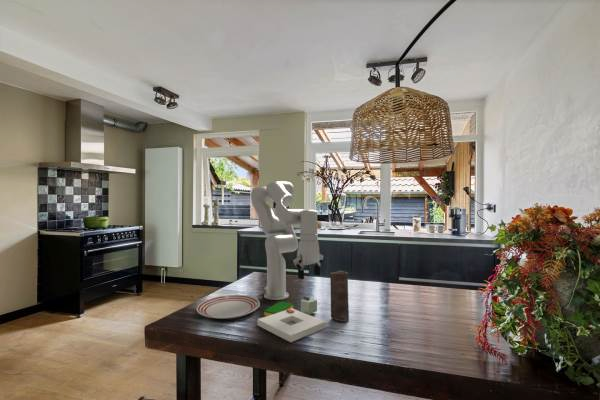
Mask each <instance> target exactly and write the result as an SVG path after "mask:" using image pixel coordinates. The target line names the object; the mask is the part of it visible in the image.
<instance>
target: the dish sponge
mask: <svg viewBox="0 0 600 400" xmlns="http://www.w3.org/2000/svg"><path fill="white" fill-rule="evenodd" d="M291 308H292V309H294V303H291V302H286V301H279V302H277V303H274V304H273V305H272V306H269V307H268V308H267V309H264V312H263V316H264V317H266V316H269V315H272V314H276V313H279V312H282V311H285V310H288V309H291Z"/></svg>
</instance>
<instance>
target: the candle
mask: <svg viewBox="0 0 600 400" xmlns="http://www.w3.org/2000/svg"><path fill="white" fill-rule="evenodd" d="M348 275H349V273H348V272H347V271H344V270H337V271H333V272H330V276H329V277H330V279H329V280H330V318H331V319H332V320H335V321H337V322H342V323H343V322H344V323H345V322H349V320H350V315H349V313H350V311H349V310H350V309H349V308H350V307H349V282H348V281H349V279H348V278H349V276H348Z"/></svg>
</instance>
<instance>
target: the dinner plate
mask: <svg viewBox="0 0 600 400" xmlns="http://www.w3.org/2000/svg"><path fill="white" fill-rule="evenodd" d="M260 305H261V302H260V300H259V299H257V298H256V297H254V296H251V295H250V296H249V295H244V294H228V295H227V294H226V295H220V296H215V297H211V298H208V299H206V300H204V301H202V302H201V303H199V304H198V305H197V307H196V312H197V313H198V314H199V315H201V316H204V317H205V318H209V319H217V320H218V319H219V320H231V319H236V318H240V317H243V316H247V315H249V314H251V313H253V312H254V311H256V310H257V309H258V308H259V307H260Z"/></svg>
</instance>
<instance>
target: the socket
mask: <svg viewBox="0 0 600 400" xmlns="http://www.w3.org/2000/svg"><path fill="white" fill-rule="evenodd" d="M257 326H258V327H260V328H262V329H264V330H266V331H268V332H269V333H272V334H273V335H275V336H277V337H279V338H281V339H283V340H285V341H287V342H288V343H293V342H295V341H297V340H300V339H302V338H304V337H307V336H309V335H312V334H314V333H317V332H318V331H322V330H323V329H326V328H327V327H326V326H327V321H325V320H323V319H320V318H317V317H315V316H312V315H311V314H307V313H303V312H302V311H301V310H297V309H295V308H293V309H292V308H291V309H288V310H285V311H282V312H279V313H276V314H272V315H269V316H263V317H260V318H257Z"/></svg>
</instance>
